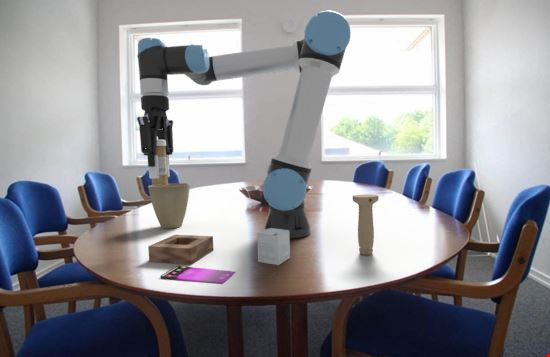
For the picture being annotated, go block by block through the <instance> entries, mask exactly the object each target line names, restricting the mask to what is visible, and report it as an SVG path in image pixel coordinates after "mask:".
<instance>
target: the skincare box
mask: <svg viewBox="0 0 550 357" xmlns="http://www.w3.org/2000/svg"><path fill="white" fill-rule="evenodd" d="M256 240H257V244H256V245H257V246H256V247H257V262H258V263H264V264H270V265H275V266H280V265H281V264H283V263H285V262H286V261H287V260H289V259H290V258H291V244H290V240H291V239H290V236H289V230H283V229H275V228H269V229H266V230H261V231H259V232H257V233H256Z"/></svg>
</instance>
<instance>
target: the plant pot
mask: <svg viewBox="0 0 550 357" xmlns="http://www.w3.org/2000/svg"><path fill="white" fill-rule="evenodd" d="M147 187H148V193H149V197H150V200H151V204H152V207H153V211H154V213H155V216H156V218H157V222H158V223H159V225H160V227H161V228H162V229H165V230H166V229H177V228H181V227H182V226H183V223H184V221H185V216H186V213H187V208H188V204H189V197H190V190H191V189H190V187H191V186H190V182H189V183H188V182H187V183H185V182H182V183H181V182H179V183H178V182H176V183H175V182H174V183H173V182H172V183H168V185H167V186H158V187H155V186H152V184H151V185H148V186H147Z"/></svg>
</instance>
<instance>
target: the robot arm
mask: <svg viewBox="0 0 550 357" xmlns="http://www.w3.org/2000/svg"><path fill="white" fill-rule="evenodd" d="M350 41H351V27H350V24H349V22H348V21H347V19H346V18H345V16H344V15H342V14H341V13H339V12H336V11H333V10H323V11H320V12H317V13H315V14H314V15H313V16H312V17H311V18H309V21H308V22H307V24H306V26H305V29H304V38H302V39H298V40H297V39H296V40H295V41H294V42H293V43H292V44H287V45H281V46H275V47H266V48H261V49H253V50H247V51H240V52H232V53H226V54H219V55H213V56H209V52H208V49H207V47H206V46H205V45H203V44H202V45H201V44H193V43H192V44H188V45H175V46H174V45H173V46H167V45H166V43H165V41H164V40H163V39H160V38H156V37H153V38H152V37H145V38H141V39H139V40H138V43H137V61H138V72H139V75H138V76H139V87H140V88H139V89H140V94H141V97H140V105H141V106H140V107H141V110H142V111H144V114H143V116H138V117H137V120H136V121H137V124H138V126H139V138H140V151H141V154H143V156H147V166H148V171H149V172H148V173H149V174H148V175H149V179H151V180H152V178H159V164H158V155H155V154H156V144H157V140H165V141H166V146H165V147H166V148H165V149H166V162H167V177H168V178H170V177H171V174H170V156H172V155H173V153H174V139H173V137H174V136H173V125H174V121H173V120H172V119H171V120H170V119H168V115H167V113H166V112H168V111H170V99H169V98H168V95H169V86H168V85H169V84H168V76H169V75H185V76H186V77H188V78H189V79H190V80H191V81H192V82H193V83H195V84H197V85H201V86H209V85H210V84H212V83H213V82H218V81H224V80H225V81H226V80H231V79H232V80H233V79H239V78H247V77H252V76H261V75H269V74H275V73H282V72H283V73H284V72H291V71H295V72H297V73H298V74H299V79H298V82H297V85H296V88H295V92H294V93H295V94H294V97H293V100H292V104H291V107H290V110H289V115H288V118H287V122H286V125H285V130H284V132H283V133H284V134H283V137H282V140H281V144H280V147H279V150H278V153H277V154H275V155H274V156H272V158H271V160H270V163H269V164H268V166H267V172H266V173H267V176H266V177H265V179H264V181H263V184H262V193H263V197H264V199H265V201H266V202H267V204H268V214H267V217H266V221H265V225H264V228H263V229H264V230H266V229H269V228H275V229H283V230H289V236H290V240H291V239H300V238H304V237H307V236H309V235H310V234H311V224H310V221H309V218H308V216H307V213H306V209H305V207H306V206H305V199H306V197H307V196H306V195H307V186H308V183H309V180H310V176H311V172H312V169H313V168H312V165H311V164H310V162H309V160H310V156H311V154H312V153H311V152H312V149H313V145H314V142H315V139H316V135H317V132H318V128H319V124H320V121H321V117H322V113H323V109H324V106H325V102H326V98H327V95H328V92H329V89H330V85H331V81H332V79H333V77H335V76H336V75H337V74H339V73H340V69H341V68H342V63H343V60H344V55H345V52H346V49H347V47H348V46H349V44H350ZM264 230H263V231H264Z"/></svg>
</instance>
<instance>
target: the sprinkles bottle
mask: <svg viewBox="0 0 550 357" xmlns="http://www.w3.org/2000/svg"><path fill="white" fill-rule="evenodd" d="M165 146H166V141H165V140H158V139H157V144H156V154H155V155H158V164H159V178H152V179H151V181H152V184H151V185H152V186H155V187H158V186H167V185H168V184H169V180H168V179H169V177H167V162H166V149H165V148H166V147H165Z"/></svg>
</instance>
